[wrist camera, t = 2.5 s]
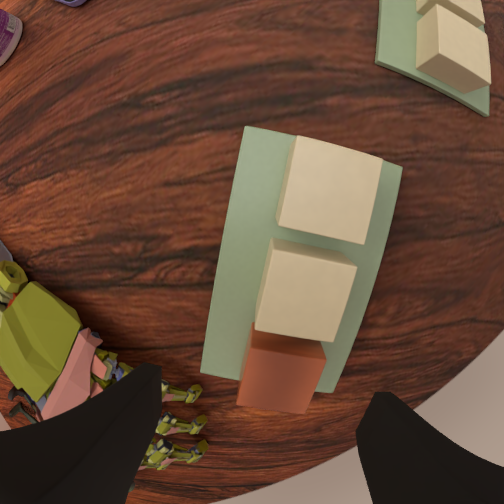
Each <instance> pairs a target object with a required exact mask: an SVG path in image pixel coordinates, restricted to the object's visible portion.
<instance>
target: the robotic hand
mask: <svg viewBox="0 0 504 504" xmlns="http://www.w3.org/2000/svg"><path fill="white" fill-rule="evenodd" d="M27 282H28V279H27V277H26V275H25V272H24V270H23V269H22V268H21V267H20V266H19V265H18V264H17V263H15V262H13V258H12V255H11V253H10V252H9V251H8V249H7V248H6V247H5V246H4V244H3V243H2V242H1V240H0V366H1V367H2V369H3V370H4V371H5V373H6V374H7V376H8V377H9V379H10V380H11V381H12V383H13V384H14V385H15V387H16V388H17V389H20V388H23V389H24V390H25V391H26V393H27V395H28V397H29V399H30V400H31V401H32V402H33V403H34V404H36V405H37V410H36V417H37V419H38V421H39V422H40V421H43V420H46V419H49V418H52V417H54V416H57V415H59V414H61V413H64V412H66V411H68V410H70V409H72V408H74V407H76V406H78V405H80V404H81V403H83V402H85V401H87V400H88V399H90V398H92V397H94V396H95V395H97V394H99V393H100V392H102V391H103V390H105V389H106V388H108V387H109V386H111V385H112V384H114V383H115V382H117V381H118V380H120V379H121V378H122V377H124V376H125V375H127V374H128V373H129V372H131V371H132V370H133V369H134V368H132V367H130V366H128V365H127V364H125V363H122V362H120V363H119V364H118V365H119V367H118V368H117V369H116V364H117V362H116V361H117V360H116V358H117V355H118V354H116V353H113V352H110V351H109V352H107V351H106V350H105V351H104V350H101V349H100V348H101V345H102V342H103V340H102V339H100V336H99V333H97V332H94V331H93V332H92V333H91V334H90V332H91V330H90V329H89V327H88V328H87V329H86V328H85V329H83V325H82V323H81V321H80V319H79V316H78V314H77V312H76V310H75V309H73V308H72V307H70V306H69V305H68V304H66V303H65V302H63V301H62V300H61V299H59V298H58V297H56V296H55V295H54V294H52V293H51V292H50V291H48V290H47V289H46V288H44V287H43V286H42V285H40V284H39V283H38V282H36V281H34V282H29V283H28V285H27V286H26V284H27ZM25 286H26V287H25ZM82 329H83V330H82ZM97 355H98V357H97ZM114 373H115V376H116V378H114V379H113V378H112V374H114ZM111 378H112V379H111ZM95 379H96V380H95ZM202 390H203V389H202V387H201V386H200V385H199V384H197V385H192V387H191V388H189V389H188V391H187V392H184V390H183V389H180V388H177V387H174V386H172V385H170V383H168V382H167V381H165V380H164V379H162V402H166V401H183V400H184V402H185V403H193V402H194V401H195V400H196V399H197V398H198V396H199V395H200V393H201V392H202ZM185 391H186V390H185ZM207 421H208V420H207V418H206V416H205V415H204V414H203V415H201V416H198V417H197V418H195V419H194V420H193V421H192V422H190V423H191V424H188V423H189V422H188V421H185V420H182V419H180V418H177V417H175V416H173V415H172V414H171V413H170V412H169V411H168V412H165V413H164V415H163V416H162V417H161V418H160V419H159V422H158V425H157V428H156V433H158V434H159V435H160V436H161V435H168V434H173V433H179V432H188V433H189V434H198V433H199V431H200V430H201V428H202V427H203V426H204V424H205V423H206V422H207ZM153 442H155V443H156V439H155V438H153V439H152V441H151V443H150V445H149V448H148V450H147V452H146V454H147V456H146V455H145V456H144V458H143V460H142V462H141V465H140V467H139V469H138V470H142V469H144V468H156V469H157V470H163V469H165V468H166V467H167V466H168V465H169V464H170V463H171V462H173V461H184V460H185V461H186V462H187V463H190V462H197V461H198V460H199V459H200V458H201V457H202V456H203V455H204V453H205V451H207V450H208V446H209V445H208V443H207V442H206V440H205V439H204V440H202V441H200V442H199V443H198V444H197V445H194V446H193V447H192V448H191V449H189V450H188V449H186V448H183V447H181V446H178V445H176V444H173V443H172V442H170V441H167V440H165V439H161V440H160V441H159V442H158V443H157V444H154V445H151V444H152V443H153ZM186 451H187V452H186Z"/></svg>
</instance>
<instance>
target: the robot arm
mask: <svg viewBox="0 0 504 504" xmlns="http://www.w3.org/2000/svg"><path fill="white" fill-rule="evenodd" d="M161 412H162V366H158V365H154V364H150V363H146V362H144V363H142V364H140V365H139V366H138V367H136V368H135V369H133V370H132V371H131V372H129V373H128V374H127V375H125V376H124V377H122V378H121V379H120V380H118V381H117V382H115V383H114V384H112V385H111V386H109V387H108V388H106V389H105V390H103V391H102V392H100V393H99V394H97V395H95V396H94V397H92V398H90V399H88V400H87V401H85V402H83V403H81V404H80V405H78V406H76V407H74V408H72V409H70V410H68V411H66V412H64V413H61V414H59V415H57V416H54V417H52V418H49V419H46V420H43V421H40V422H37V423H34V424H30V425H27V426H24V427H20V428H16V429H11V430H6V431H0V504H125V502H126V498H127V495H128V492H129V489H130V487H131V484H132V482H133V480H134V477H135V475H136V473H137V471H138V469H139V467H140V465H141V462H142V460H143V458H144V456H145V454H146V452H147V450H148V448H149V445H150V443H151V441H152V439H153V437H154V434H155V432H156V428H157V425H158V422H159V419H160V416H161ZM356 439H357V447H358V453H359V457H360V461H361V464H362V468H363V471H364V475H365V478H366V481H367V485H368V488H369V491H370V495H371V498H372V502H373V504H504V467H502V466H499V465H496V464H494V463H491V462H489V461H487V460H485V459H482V458H480V457H478V456H476V455H474V454H473V453H471V452H469V451H467V450H466V449H464V448H462V447H460V446H459V445H457V444H456V443H454V442H453V441H451V440H450V439H449V438H447V437H446V436H445V435H443V434H442V433H440V432H439V431H438V430H436V429H435V428H434V427H433V426H431V425H430V424H429V423H428V422H426V421H425V420H424V419H423V418H422V417H421V416H419V415H418V414H417V413H416V412H415V411H413V410H412V409H411V408H410V407H409V406H408V405H406V404H405V403H404V402H403V401H402V400H400V399H399V398H398V397H397V396H395V395H394V394H393V393H391V392H375V394H374V396H373V398H372V400H371V402H370V404H369V406H368V408H367V410H366V412H365V414H364V416H363V418H362V420H361V422H360V424H359V426H358V428H357V429H356Z"/></svg>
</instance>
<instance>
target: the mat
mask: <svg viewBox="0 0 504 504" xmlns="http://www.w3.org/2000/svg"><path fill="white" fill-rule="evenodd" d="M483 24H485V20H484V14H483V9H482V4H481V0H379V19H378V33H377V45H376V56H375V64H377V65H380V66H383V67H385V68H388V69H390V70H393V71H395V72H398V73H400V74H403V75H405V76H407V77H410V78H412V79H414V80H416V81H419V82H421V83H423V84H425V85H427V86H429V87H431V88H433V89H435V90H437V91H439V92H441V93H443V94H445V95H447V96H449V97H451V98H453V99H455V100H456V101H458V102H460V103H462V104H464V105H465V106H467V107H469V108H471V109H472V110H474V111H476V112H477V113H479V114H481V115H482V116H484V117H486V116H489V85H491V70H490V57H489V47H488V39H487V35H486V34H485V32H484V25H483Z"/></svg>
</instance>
